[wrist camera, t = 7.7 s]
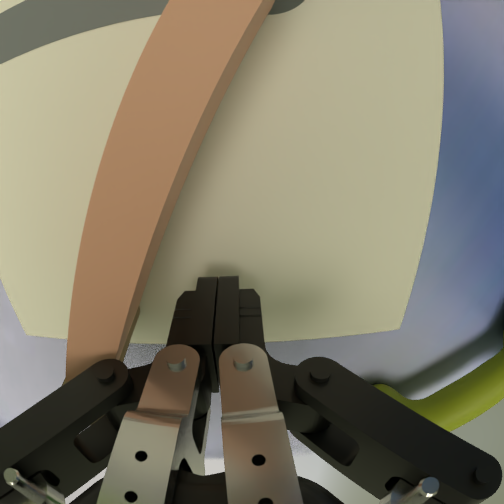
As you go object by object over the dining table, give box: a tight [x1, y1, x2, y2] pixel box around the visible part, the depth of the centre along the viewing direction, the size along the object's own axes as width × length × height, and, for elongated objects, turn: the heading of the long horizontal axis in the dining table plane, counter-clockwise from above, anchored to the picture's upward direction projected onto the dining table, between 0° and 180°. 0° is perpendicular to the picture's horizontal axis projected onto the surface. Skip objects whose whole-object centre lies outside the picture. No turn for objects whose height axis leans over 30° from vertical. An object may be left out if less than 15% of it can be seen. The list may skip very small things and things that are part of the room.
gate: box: [62, 0, 275, 425], centre depth 8 cm, size 2×14×6 cm, turn 154°
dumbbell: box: [373, 332, 504, 432], centre depth 14 cm, size 16×8×7 cm, turn 118°
